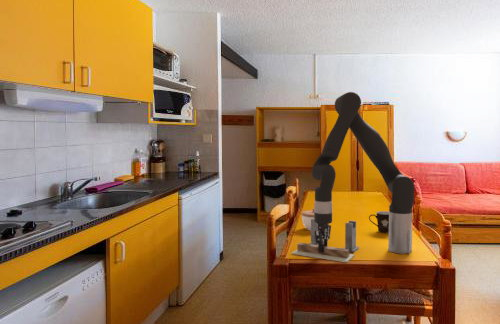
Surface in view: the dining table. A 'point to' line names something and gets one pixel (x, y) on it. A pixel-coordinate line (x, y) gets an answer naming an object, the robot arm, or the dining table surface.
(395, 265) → the dining table surface
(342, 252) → the walnut bar
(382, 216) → the coffee mug
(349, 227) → the forked posts
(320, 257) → the white flat slab
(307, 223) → the lidded bowl
